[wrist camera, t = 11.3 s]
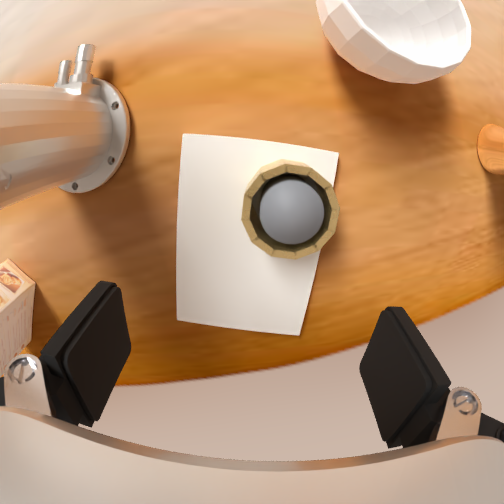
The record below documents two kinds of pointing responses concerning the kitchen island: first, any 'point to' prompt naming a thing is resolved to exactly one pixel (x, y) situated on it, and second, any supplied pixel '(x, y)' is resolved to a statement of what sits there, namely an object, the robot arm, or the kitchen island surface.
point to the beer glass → (491, 148)
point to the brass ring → (254, 224)
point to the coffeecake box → (14, 311)
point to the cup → (398, 36)
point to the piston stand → (245, 233)
